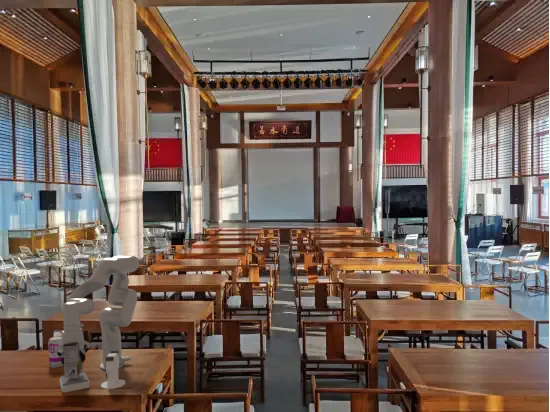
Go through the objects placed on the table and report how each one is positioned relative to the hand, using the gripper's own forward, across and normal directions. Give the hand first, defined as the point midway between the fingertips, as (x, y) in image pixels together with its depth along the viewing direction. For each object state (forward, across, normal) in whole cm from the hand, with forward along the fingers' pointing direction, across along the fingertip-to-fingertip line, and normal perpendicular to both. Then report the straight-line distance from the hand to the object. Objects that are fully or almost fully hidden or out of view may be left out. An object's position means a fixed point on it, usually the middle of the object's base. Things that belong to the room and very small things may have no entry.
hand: (73, 363), depth 243 cm
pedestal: (+11, 0, 0) cm, 11 cm away
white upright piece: (+11, -17, +8) cm, 22 cm away
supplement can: (+11, +5, -38) cm, 39 cm away
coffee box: (+6, 0, 0) cm, 6 cm away
